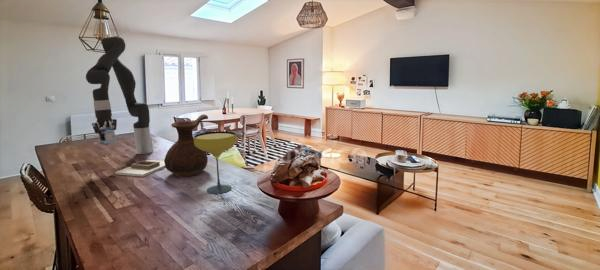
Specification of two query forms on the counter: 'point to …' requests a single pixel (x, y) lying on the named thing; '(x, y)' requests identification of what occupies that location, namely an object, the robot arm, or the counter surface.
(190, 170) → the jug
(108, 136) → the medicine box
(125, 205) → the counter surface
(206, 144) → the cocktail glass
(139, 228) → the counter surface
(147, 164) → the board
